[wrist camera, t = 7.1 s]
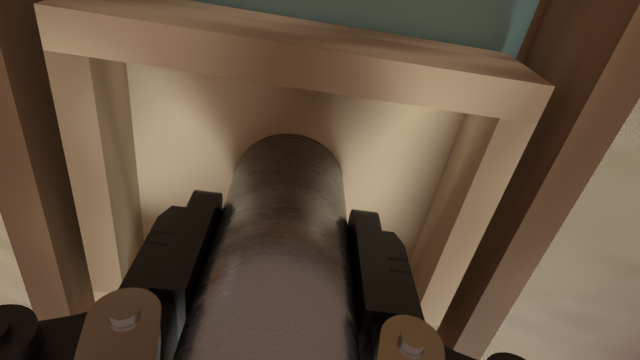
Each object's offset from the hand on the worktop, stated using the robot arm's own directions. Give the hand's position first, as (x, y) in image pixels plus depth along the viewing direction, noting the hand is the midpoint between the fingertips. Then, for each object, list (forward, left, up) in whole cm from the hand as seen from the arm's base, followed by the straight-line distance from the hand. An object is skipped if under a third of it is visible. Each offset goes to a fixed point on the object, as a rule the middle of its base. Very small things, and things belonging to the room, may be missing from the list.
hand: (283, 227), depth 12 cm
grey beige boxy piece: (0, 0, -3) cm, 3 cm away
